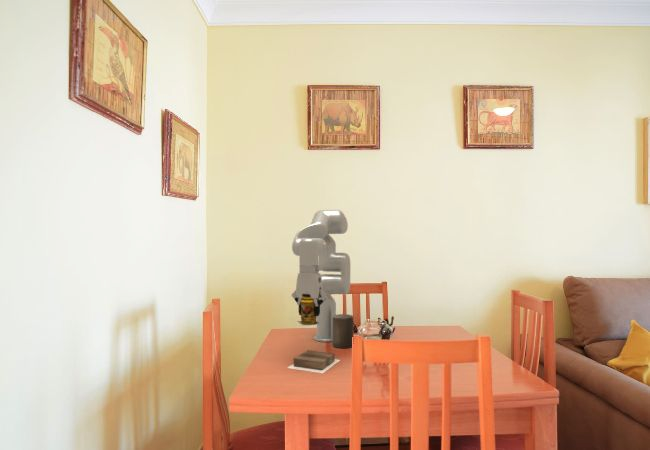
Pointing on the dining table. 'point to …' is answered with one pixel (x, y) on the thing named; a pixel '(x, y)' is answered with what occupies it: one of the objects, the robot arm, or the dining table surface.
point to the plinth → (314, 360)
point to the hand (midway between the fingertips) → (309, 314)
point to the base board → (314, 369)
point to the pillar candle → (342, 331)
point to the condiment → (307, 311)
